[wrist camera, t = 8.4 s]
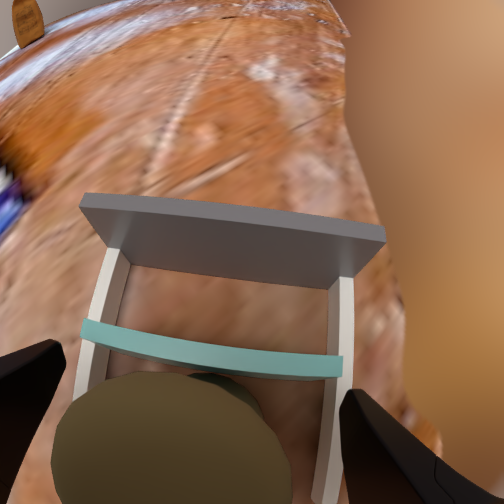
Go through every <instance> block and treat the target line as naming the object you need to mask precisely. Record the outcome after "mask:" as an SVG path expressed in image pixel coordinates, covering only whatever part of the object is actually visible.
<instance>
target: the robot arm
mask: <svg viewBox="0 0 504 504" xmlns="http://www.w3.org/2000/svg"><path fill="white" fill-rule="evenodd" d="M65 368H66V359H65V355H64V352H63V349H62V345H61V343H60V342H58V341H56V340H53V339H48V340H45V341H42V342H40V343H37V344H34V345H32V346H29V347H26V348H24V349H21V350H18V351H16V352H13V353H10V354H7V355H5V356H2V357H0V504H6V503H7V500H8V498H9V495H10V492H11V489H12V486H13V484H14V481H15V479H16V476H17V474H18V471H19V469H20V466H21V464H22V462H23V459H24V457H25V455H26V452H27V450H28V448H29V446H30V444H31V442H32V439H33V437H34V435H35V433H36V431H37V429H38V427H39V425H40V423H41V421H42V419H43V417H44V415H45V413H46V411H47V409H48V407H49V405H50V403H51V401H52V399H53V397H54V394H55V392H56V389H57V387H58V384H59V382H60V380H61V377H62V375H63V373H64V371H65ZM339 426H340V442H341V456H342V462H343V468H344V474H345V480H346V486H347V492H348V498H349V504H504V499H503V498H499V497H496V496H494V495H492V494H490V493H489V492H487V491H485V490H484V489H482V488H481V487H479V486H477V485H476V484H474V483H473V482H471V481H470V480H468V479H467V478H465V477H464V476H462V475H461V474H459V473H458V472H456V471H455V470H454V469H453V468H451V467H450V466H449V465H447V464H446V463H445V462H444V461H443V460H442V459H440V458H439V457H438V456H436V454H434V453H433V452H432V451H431V450H430V449H429V448H428V447H426V446H425V445H424V444H423V443H422V442H421V441H419V440H418V439H417V438H416V437H415V436H414V435H413V434H411V433H410V432H409V431H408V430H407V429H406V428H405V427H404V426H402V425H401V424H400V423H399V422H398V421H397V420H396V419H395V418H393V417H392V416H391V415H390V414H389V413H388V412H387V411H386V410H384V409H383V408H382V407H381V406H380V405H379V404H378V403H377V402H376V401H375V400H373V399H372V398H371V397H370V396H369V395H368V394H367V393H366V392H365V391H364V390H362V389H349V390H348V391H347V392H346V394H345V396H344V399H343V401H342V403H341V405H340V407H339Z"/></svg>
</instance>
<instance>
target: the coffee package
mask: <svg viewBox="0 0 504 504" xmlns="http://www.w3.org/2000/svg"><path fill="white" fill-rule="evenodd" d="M12 21H13V27H14V32H15V36H16V39H17V42H18V45H19V47H20V48H21V49H22V48H24V47H26V46H27V45H29V44H30V43H32V42H33V41H35V40H37V39H38V38H40V37H41V36H42V35H44V22H43V17H42V13H41V11H40V8H39V6H38V4H37V2H36V1H35V0H14V1H13V5H12Z"/></svg>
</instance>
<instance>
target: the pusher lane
mask: <svg viewBox="0 0 504 504" xmlns="http://www.w3.org/2000/svg"><path fill="white" fill-rule="evenodd" d="M79 208H80V209H81V211H82V212H83V214H84V215H85V217H86V218H87V220H88V221H89V222H90V224H91V225H92V227H93V228H94V229H95V231H96V232H97V233H98V235H99V236H100V238H101V239H102V240H103V242H104V243H105V244H106V246H107V247H108V249H107V252H106V255H105V258H104V261H103V264H102V268H101V271H100V274H99V277H98V281H97V284H96V288H95V291H94V295H93V299H92V302H91V306H90V310H89V314H88V318H87V319H90V320H94V321H97V322H101V323H105V324H109V325H114V326H115V324H116V320H117V316H118V311H119V307H120V303H121V299H122V295H123V291H124V287H125V283H126V280H127V276H128V272H129V269H130V265H131V264H132V265H138V266H145V267H152V268H159V269H165V270H172V271H180V272H187V273H194V274H201V275H209V276H216V277H224V278H232V279H240V280H248V281H257V282H265V283H274V284H282V285H291V286H300V287H310V288H319V289H328V334H327V355H333V356H343V373H342V377H338V378H331V379H325V386H324V399H323V410H322V420H321V429H320V438H319V446H318V453H317V461H316V468H315V474H314V481H313V487H312V493H311V499H312V500H313V502H314V503H315V504H337V500H338V495H339V490H340V484H341V479H342V473H343V462H342V456H341V442H340V426H339V407H340V405H341V403H342V401H343V399H344V396H345V394H346V392H347V391H348V390H349V389H352V378H353V355H354V285H353V278H354V277H355V276H356V275H357V274H358V273H359V272H360V271H361V270H362V268H363V267H364V266H365V265H366V264H367V263H368V262H369V261H370V260H371V259H372V258H373V257H374V256H375V255H376V253H377V252H378V251H379V250H380V249H381V248H382V247H383V246H384V245H385V244H386V235H385V228H384V226H379V225H373V224H368V223H362V222H356V221H350V220H343V219H337V218H331V217H324V216H317V215H310V214H303V213H296V212H289V211H282V210H274V209H266V208H258V207H250V206H241V205H233V204H224V203H214V202H205V201H195V200H184V199H173V198H161V197H148V196H135V195H120V194H103V193H85V194H84V196H83V198H82V200H81V202H80V204H79ZM109 354H110V349H108V348H105V347H103V346H100V345H98V344H95V343H93V342H90V341H88V340H85V339H83V341H82V345H81V350H80V356H79V361H78V367H77V373H76V379H75V386H74V393H73V401H74V400H76V399H77V398H79V397H80V396H82V395H83V394H85V393H86V392H87V391H89V390H90V389H92V388H93V387H95V386H96V385H97V384H99V383H101V382H103V381H105V377H106V371H107V365H108V359H109ZM73 401H72V402H73Z"/></svg>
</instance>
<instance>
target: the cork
mask: <svg viewBox="0 0 504 504" xmlns="http://www.w3.org/2000/svg"><path fill="white" fill-rule="evenodd" d="M51 468H52V474H53V479H54V484H55V489H56V492H57V494H58V496H59V498H60V500H61V502H62V504H292V498H293V495H292V478H291V465H290V463H289V461H288V459H287V457H286V455H285V452H284V450H283V448H282V446H281V444H280V442H279V439H278V437H277V435H276V434H275V432H274V431H273V430H272V429H271V428H270V427H269V426H268V425H267V424H266V423H265V422H264V418H263V414H262V412H261V410H260V407H259V405H258V403H257V400H256V399H255V398H254V397H253V396H252V395H251V394H250V393H249V391H248V390H247V389H246V388H245V387H243V386H242V385H240V384H239V383H237V382H235V381H234V380H232V379H231V378H228V377H224V376H221V375H217V374H214V373H194V374H190V375H187V376H185V375H182V374H179V373H172V372H146V371H137V372H134V373H130V374H126V375H123V376H119V377H115V378H111V379H107V380H105V381H103V382H101V383H99V384H97V385H96V386H95V387H93V388H92V389H90V390H89V391H87V392H86V393H85V394H83V395H82V396H80V397H79V398H77V399H76V400H74V401H73V402H72V403H71V405H70V406H69V408H68V410H67V411H66V413H65V414H64V416H63V417H62V419H61V421H60V422H59V424H58V425H57V429H56V433H55V438H54V443H53V449H52V456H51Z"/></svg>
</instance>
